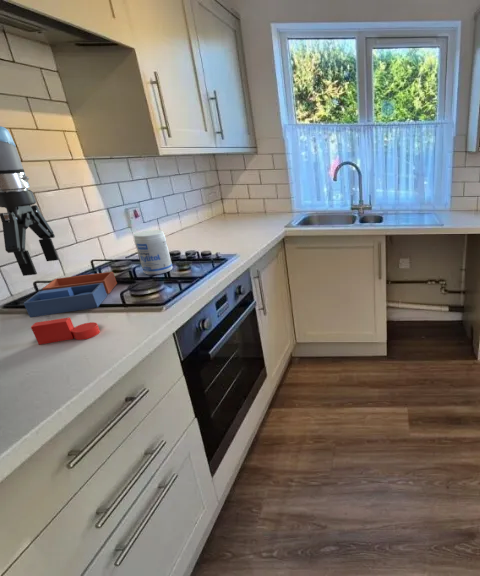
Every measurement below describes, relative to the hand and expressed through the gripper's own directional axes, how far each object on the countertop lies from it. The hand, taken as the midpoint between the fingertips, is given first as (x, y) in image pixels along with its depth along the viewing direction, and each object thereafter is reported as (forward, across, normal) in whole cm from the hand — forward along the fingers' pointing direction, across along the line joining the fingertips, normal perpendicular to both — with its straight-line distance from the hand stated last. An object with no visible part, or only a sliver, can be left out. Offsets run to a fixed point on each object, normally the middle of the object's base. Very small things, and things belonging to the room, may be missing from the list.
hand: (42, 267), depth 102 cm
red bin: (+13, +12, -3) cm, 17 cm away
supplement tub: (+12, +24, -22) cm, 36 cm away
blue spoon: (+12, +1, -3) cm, 13 cm away
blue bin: (+13, 0, -3) cm, 13 cm away
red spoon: (+13, -22, -10) cm, 28 cm away
